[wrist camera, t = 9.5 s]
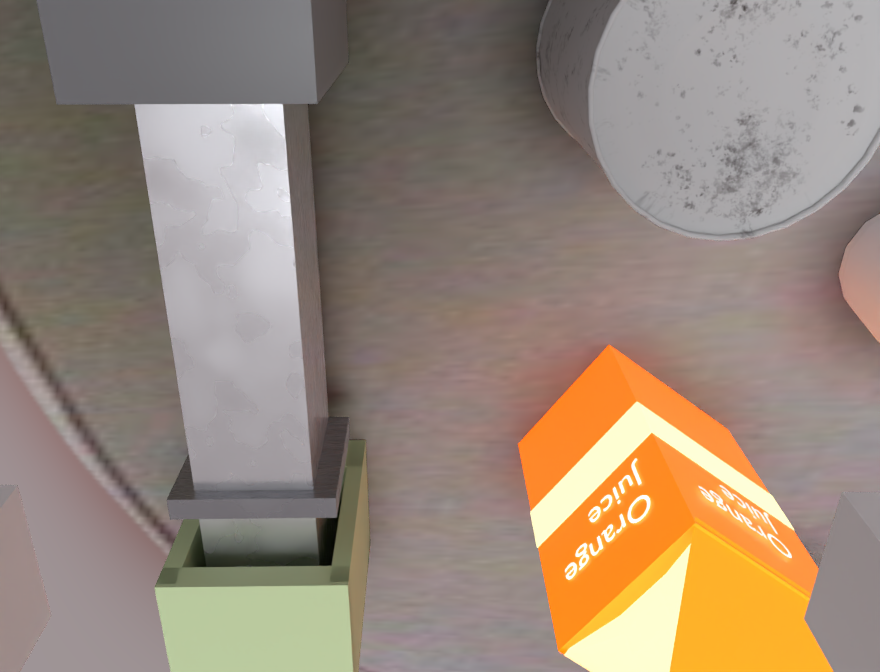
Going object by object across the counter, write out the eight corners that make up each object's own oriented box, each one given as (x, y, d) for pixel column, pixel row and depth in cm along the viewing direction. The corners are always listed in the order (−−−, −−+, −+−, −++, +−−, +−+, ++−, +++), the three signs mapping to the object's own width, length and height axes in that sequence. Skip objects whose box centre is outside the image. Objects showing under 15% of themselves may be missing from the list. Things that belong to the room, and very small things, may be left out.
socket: (217, 441, 43) (154, 587, 33) (365, 439, 43) (348, 585, 33) (231, 544, 46) (177, 707, 36) (370, 542, 46) (355, 704, 36)
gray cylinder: (497, 100, 36) (530, 162, 25) (608, -117, 32) (705, -159, 21) (674, 192, 38) (778, 288, 27) (797, -3, 34) (976, 13, 23)
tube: (152, 43, 32) (90, 61, 26) (328, 43, 32) (307, 62, 26) (223, 543, 42) (190, 638, 36) (355, 541, 43) (344, 636, 37)
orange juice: (609, 341, 41) (755, 638, 23) (730, 428, 44) (948, 759, 25) (514, 445, 44) (578, 786, 26) (633, 522, 46) (768, 883, 28)
